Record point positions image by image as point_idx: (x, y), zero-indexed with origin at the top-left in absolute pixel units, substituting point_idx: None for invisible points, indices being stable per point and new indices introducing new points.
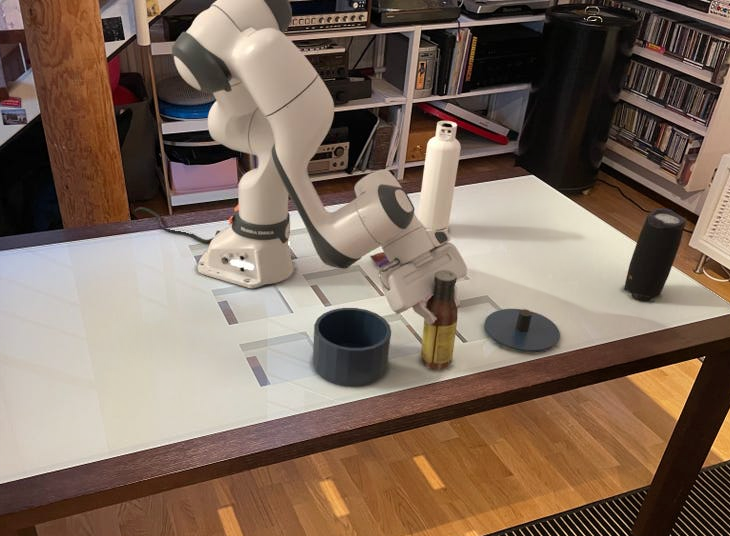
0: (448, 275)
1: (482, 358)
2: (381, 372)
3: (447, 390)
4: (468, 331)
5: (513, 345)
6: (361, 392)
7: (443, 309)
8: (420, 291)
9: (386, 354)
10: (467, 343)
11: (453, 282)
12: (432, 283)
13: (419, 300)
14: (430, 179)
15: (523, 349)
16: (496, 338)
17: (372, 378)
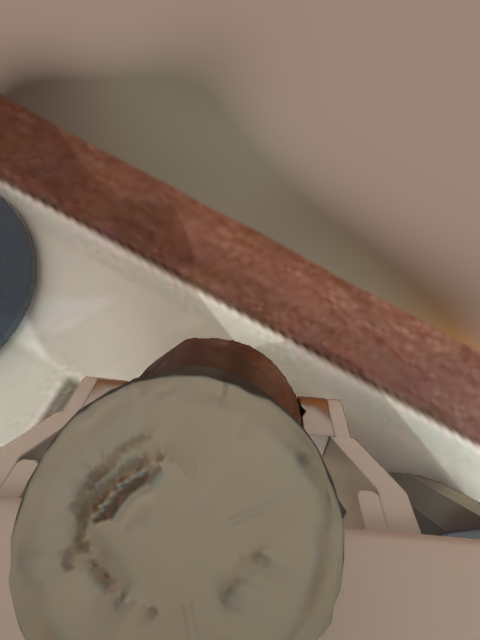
0: (161, 505)
1: (118, 304)
2: (400, 478)
3: (306, 304)
4: (15, 402)
5: (20, 255)
6: (477, 475)
7: (278, 386)
8: (428, 620)
9: (409, 500)
10: (76, 372)
11: (218, 373)
12: None
13: (457, 546)
14: None
15: (22, 226)
16: (16, 307)
17: (437, 483)
